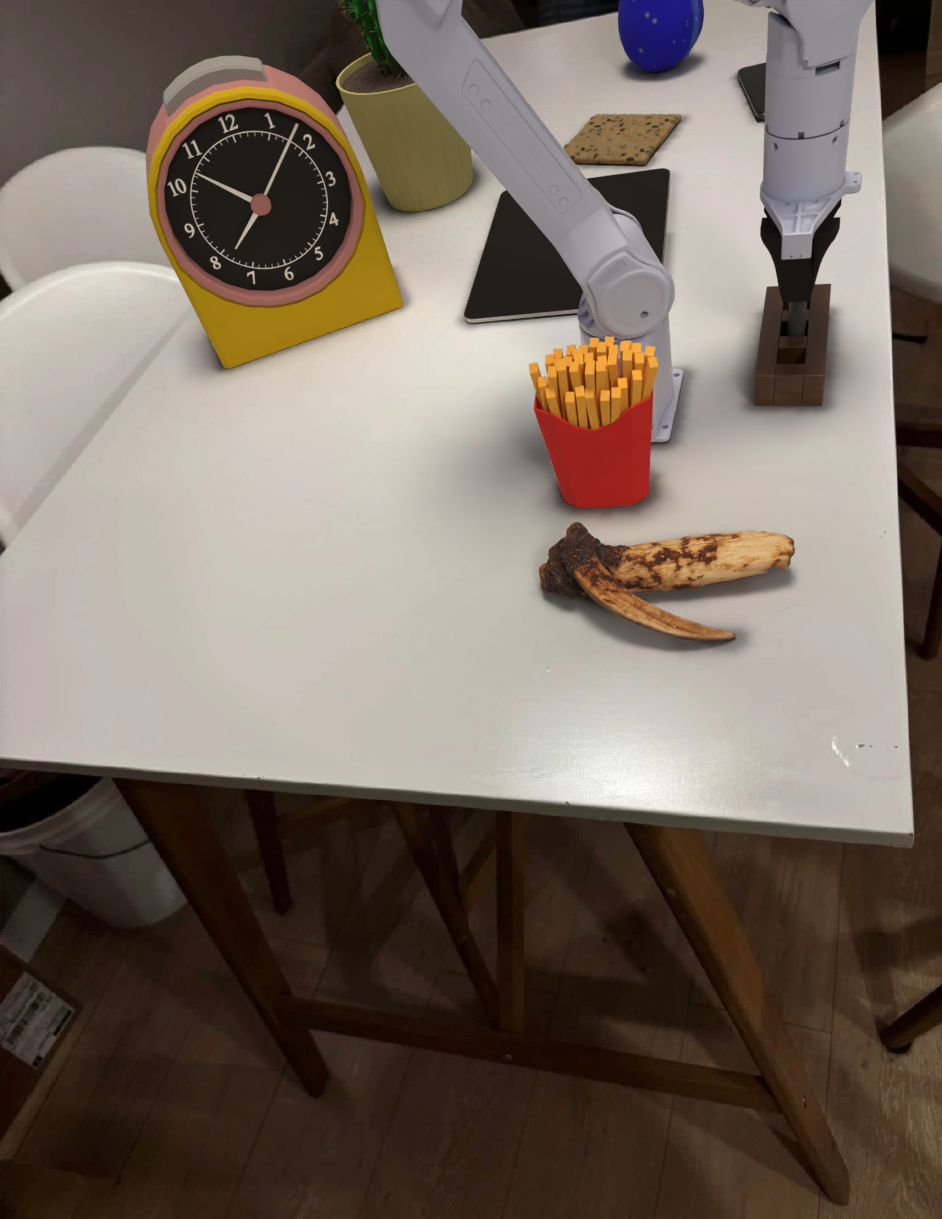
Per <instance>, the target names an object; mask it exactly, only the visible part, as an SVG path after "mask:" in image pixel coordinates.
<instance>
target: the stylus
mask: <svg viewBox="0 0 942 1219" xmlns="http://www.w3.org/2000/svg"><path fill="white" fill-rule="evenodd" d="M806 310H807V302H789V314H788V332H787V336H805V324H806Z"/></svg>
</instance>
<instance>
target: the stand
mask: <svg viewBox="0 0 942 1219" xmlns="http://www.w3.org/2000/svg"><path fill="white" fill-rule="evenodd" d="M831 293H832V283H815V285H814V289H813V292H812V294H811V297H810V299H809V301H807V310H806V324H805V336H787V332H788V314H789V302H787V303H784V302H782V299H781V296H780V292H779V287H778V285H768V286H766V290H765V296H764V303H763V310H762V318H761V325H760V332H759V339H758V347H757V354H756V359H755V367H754V374H753V406H823V401H824V392H825V381H826V368H827V352H828V339H829V337H828V336H829V324H830V323H829V322H830V320H829V319H830V309H831V308H830V307H831Z"/></svg>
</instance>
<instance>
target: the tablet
mask: <svg viewBox="0 0 942 1219" xmlns="http://www.w3.org/2000/svg"><path fill="white" fill-rule="evenodd" d="M585 178H586V179H587V180H588V181H589V183H590V184H591V185H592V186H593V187H594V188H595V189H596V190H598V191H599V192H600V194H601V195H602V196H603V198H604V199H605V200H606V201H607V202H608V203H609V204H610V205H611V206H613V207H615V208H618V209H621V210H623V211H626V212H628V213H630V214H631V215H632V216H634V217H635V218H636V220H637V221H638V222H639V224H640V225H641V228H642V231H643V234H644V236H645V238H646V240H647V241H648V243H649V244H650V246H651V248H652V249H653V251H654V253H655V254H656V256H657V258H658V259H659V261H660V263H661V264H662V265H663V266H664V254H665V242H666V231H667V218H668V205H669V195H670V194H669V193H670V185H671V184H670V182H671V171H670V169H669V168H664V167H659V168H653V169H645V170H638V171H637V170H636V171H631V172H622V173H616V174H608V175H602V176H601V175H600V176H594V177H585ZM473 279H474V280H473V283H472V286H471V290H470V292H469V296H468V299H467V303H466V305H465V309H464V312H463V318H464V320H465V321H466V322H468V323H472V324H473V323H484V322H496V321H506V320H518V319H526V318H539V317H548V316H559V315H567V314H568V315H569V314H577V312H578V310H579V304H580V301H581V297H582V294H583V290H582V288H581V286H580V284H579V283H578V282H577V280H576V279H575V277H574V276H573V274H572V273H571V271H570V269H569V268H568V266H567V265H566V263H565V262H564V260H563V259H562V257H561V256H560V254H559V252H558V251H557V249H556V248H555V247H554V245H553V244H552V243H551V242H550V241H549V239H548V238H547V237H546V236H545V235H544V233H543V232H542V231H541V230H540V229H539V228H538V226H537V225H536V224H535V223H534V222H533V221H532V219H531V218H530V217H529V216H528V215H527V213H526V212H525V211H524V210H523V209H522V208H521V206H520V205H519V204H518V203H517V202H516V201H515V199H514V198H513V197H512V196H511V195H510V193H509V192H508V191H507V190H506V189H505V190H504V191H502V192H501V193H500V195H499V198H498V201H497V205H496V208H495V211H494V214H493V217H492V221H491V225H490V228H489V230H488V234H487V237H486V240H485V243H484V247H483V250H482V254H481V256H480V260H479V263H478V266H477V270H476V273H475V276H474V278H473Z"/></svg>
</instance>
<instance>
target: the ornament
mask: <svg viewBox="0 0 942 1219" xmlns="http://www.w3.org/2000/svg"><path fill="white" fill-rule="evenodd" d="M704 18H705V7H704V0H619V2H618V8H617V28H618V34H619V40H620V43H621V46H622V48H623V51H624V53H625V55H626V56H627V58H628V59H629V61H630V62H631V63H632V64H634V65H635V66H636V67H637V68H638V69H640V70H642V71H646V72H650V73H651V72H653V73H657V72H663V71H666V70H669V69H671V68H673V67H675V66H677V65H679V63H681V62H683V60H684V59H686V57H687V56H688V55H689V54H690V53H691V52H692V50H693V48H694V46H695V45H696V43H697V41H698V39H699V37H700V36H701V32H702V30H703V27H704Z"/></svg>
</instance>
